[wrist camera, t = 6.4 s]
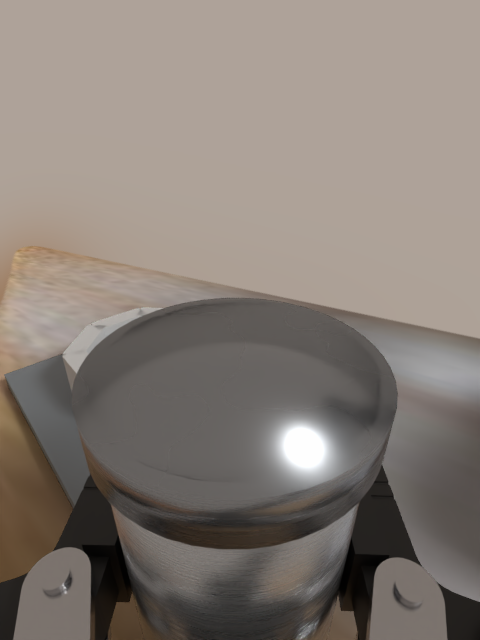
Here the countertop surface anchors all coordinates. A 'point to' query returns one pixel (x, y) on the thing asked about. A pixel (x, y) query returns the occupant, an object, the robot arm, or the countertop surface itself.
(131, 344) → the silver metal canister
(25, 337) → the countertop surface
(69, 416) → the collar
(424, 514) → the countertop surface
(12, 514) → the countertop surface
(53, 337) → the countertop surface
